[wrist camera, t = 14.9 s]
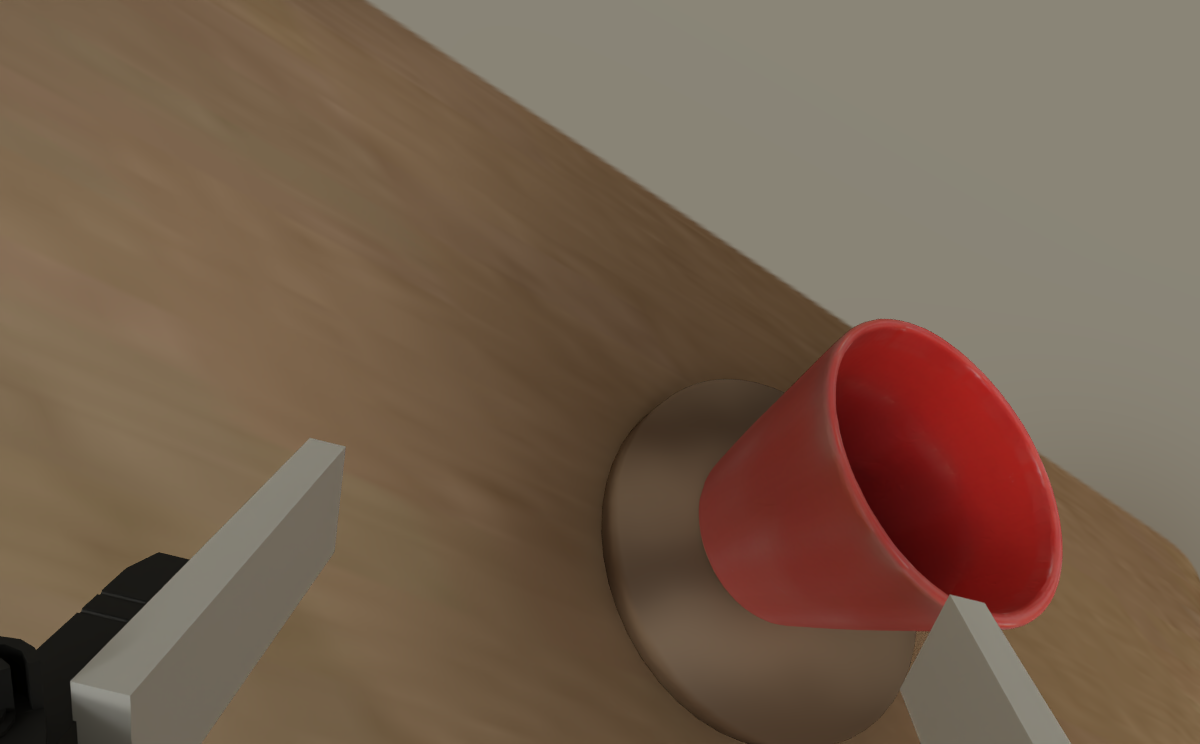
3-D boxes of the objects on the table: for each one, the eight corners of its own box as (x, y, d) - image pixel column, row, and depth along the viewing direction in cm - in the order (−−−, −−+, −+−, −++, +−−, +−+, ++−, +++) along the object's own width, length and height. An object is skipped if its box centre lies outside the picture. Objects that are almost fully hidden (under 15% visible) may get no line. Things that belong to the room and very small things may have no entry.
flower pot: (851, 453, 36) (1025, 367, 29) (877, 687, 31) (1103, 654, 23) (671, 391, 33) (816, 274, 25) (662, 643, 27) (847, 588, 20)
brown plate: (547, 425, 31) (561, 411, 30) (797, 370, 40) (815, 357, 39) (699, 826, 26) (723, 828, 25) (944, 661, 35) (970, 657, 34)
